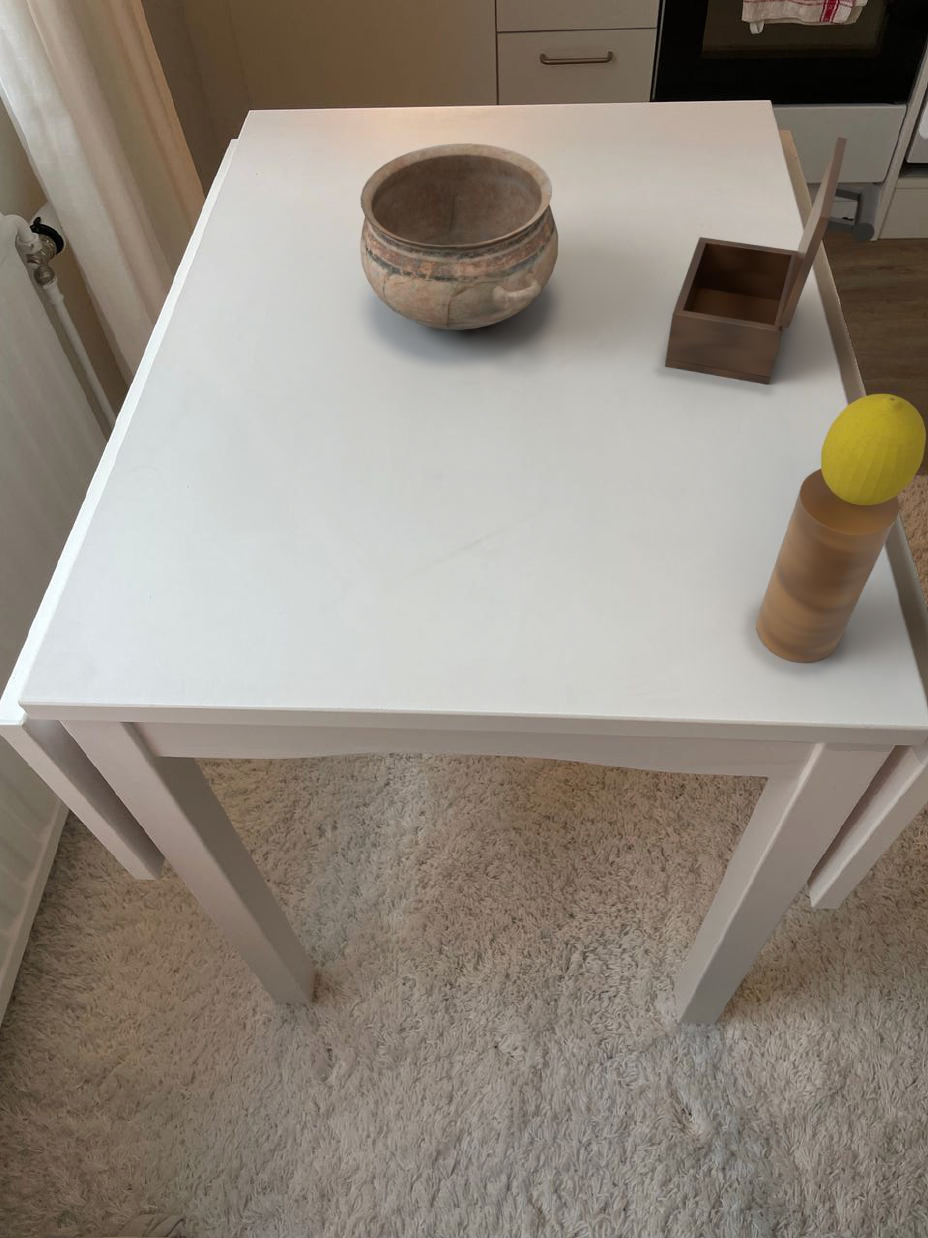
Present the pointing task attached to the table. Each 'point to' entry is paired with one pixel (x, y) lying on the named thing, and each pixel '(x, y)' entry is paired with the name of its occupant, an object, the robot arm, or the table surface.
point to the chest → (731, 310)
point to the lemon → (873, 449)
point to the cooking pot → (458, 234)
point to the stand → (821, 571)
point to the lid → (830, 224)
